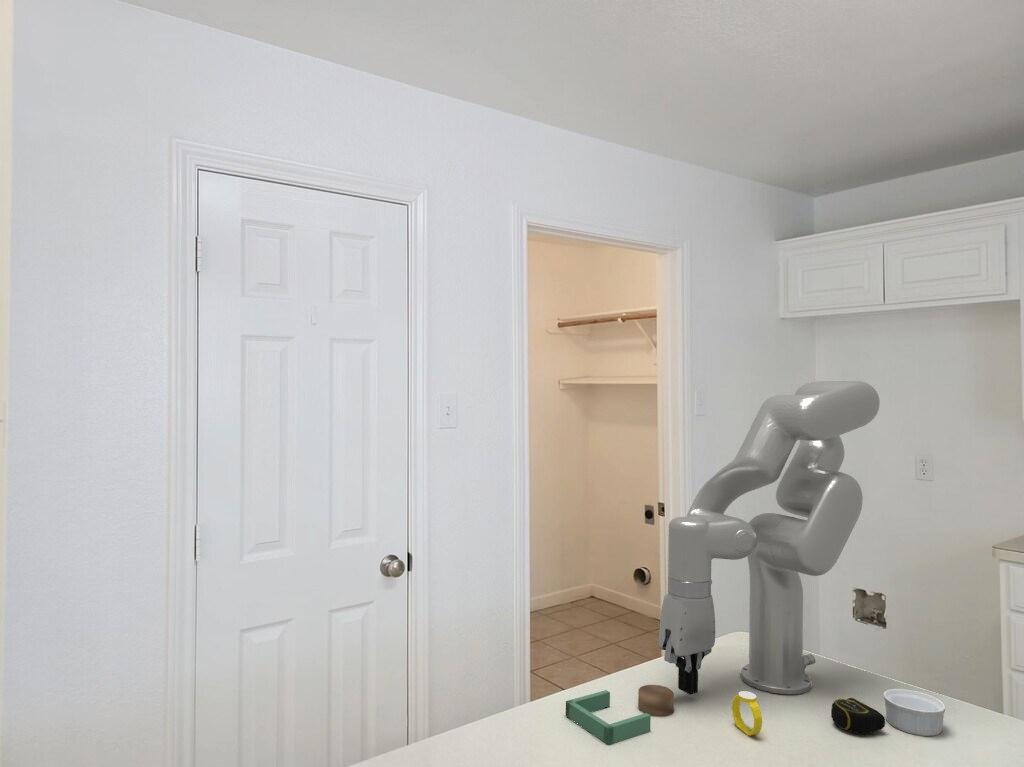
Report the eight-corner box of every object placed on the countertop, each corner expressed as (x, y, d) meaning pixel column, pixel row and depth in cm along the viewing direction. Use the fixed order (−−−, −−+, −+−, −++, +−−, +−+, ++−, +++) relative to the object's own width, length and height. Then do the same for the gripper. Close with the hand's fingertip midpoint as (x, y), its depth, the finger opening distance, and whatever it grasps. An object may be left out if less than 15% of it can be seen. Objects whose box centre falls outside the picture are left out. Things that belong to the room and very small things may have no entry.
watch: (727, 724, 113) (728, 687, 113) (741, 722, 113) (742, 685, 114) (751, 741, 107) (751, 703, 107) (766, 739, 108) (766, 701, 108)
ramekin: (892, 708, 120) (893, 683, 120) (951, 726, 113) (951, 700, 113) (875, 725, 113) (875, 698, 113) (936, 744, 107) (937, 716, 107)
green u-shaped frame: (606, 704, 119) (606, 690, 119) (650, 731, 110) (650, 715, 110) (565, 716, 114) (565, 701, 114) (608, 744, 105) (608, 728, 105)
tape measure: (887, 735, 110) (887, 712, 110) (853, 741, 108) (853, 717, 108) (854, 716, 116) (854, 694, 116) (821, 721, 114) (821, 699, 114)
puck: (656, 699, 122) (656, 682, 122) (681, 712, 117) (681, 694, 117) (631, 706, 119) (631, 689, 119) (655, 720, 114) (655, 702, 114)
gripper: (702, 577, 130) (701, 675, 129) (643, 587, 122) (642, 692, 121) (734, 587, 123) (733, 690, 123) (674, 598, 115) (672, 708, 115)
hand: (687, 690), depth 122 cm, fingers closed
